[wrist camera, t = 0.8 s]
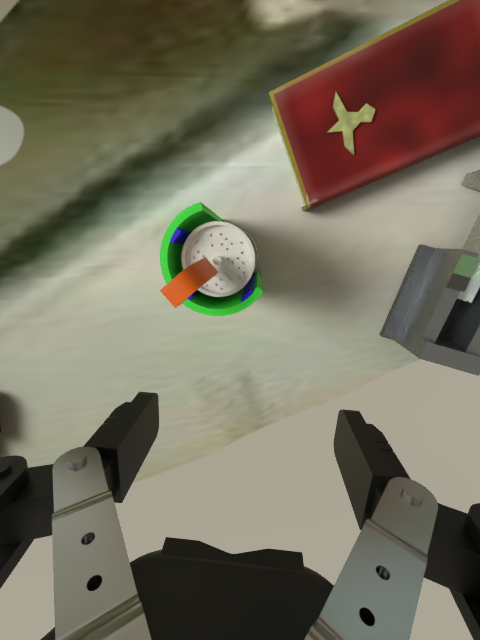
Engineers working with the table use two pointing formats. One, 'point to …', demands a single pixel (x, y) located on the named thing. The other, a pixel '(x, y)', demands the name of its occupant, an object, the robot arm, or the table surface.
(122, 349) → the table surface
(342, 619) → the robot arm
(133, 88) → the table surface
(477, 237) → the plunger
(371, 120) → the hardcover book
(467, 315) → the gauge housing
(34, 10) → the table surface
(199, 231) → the green-shelled ribbed roller
